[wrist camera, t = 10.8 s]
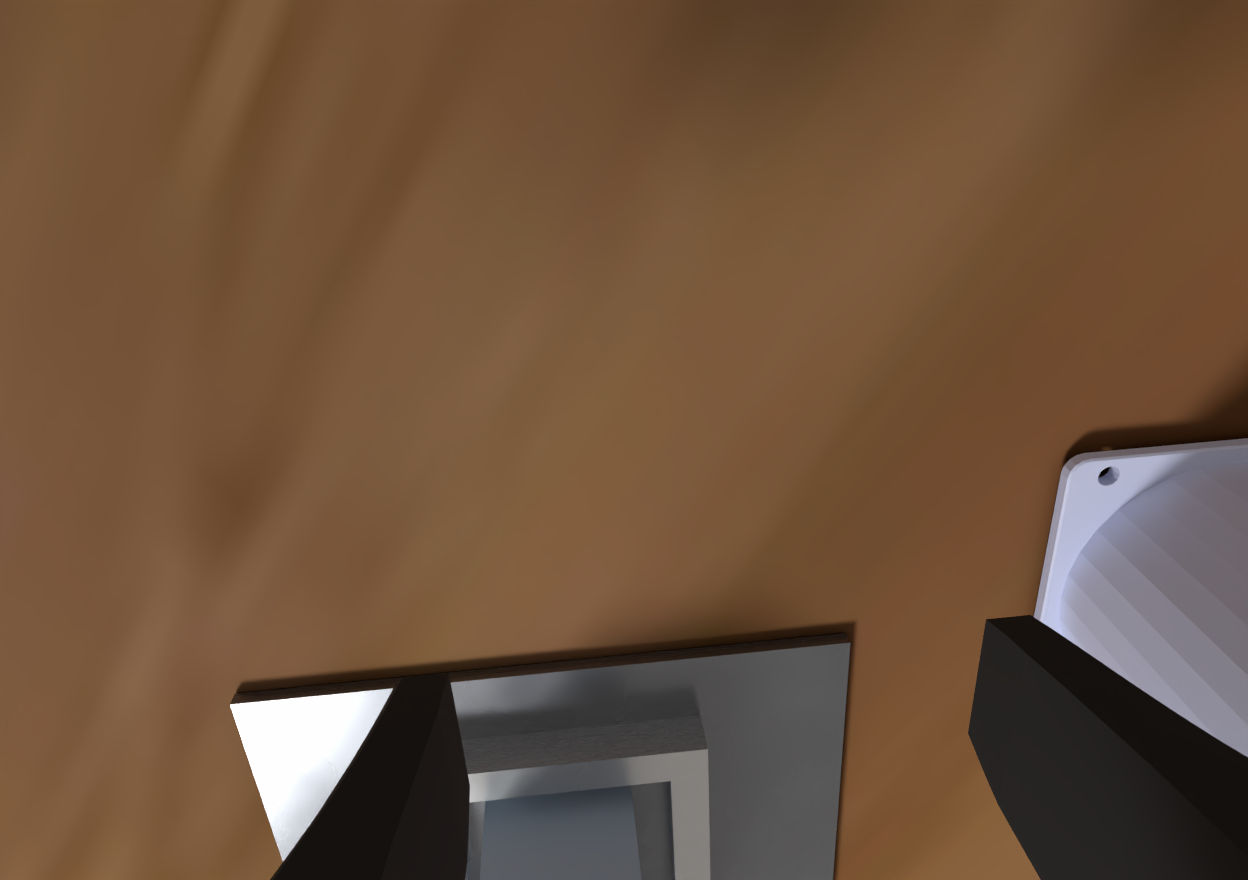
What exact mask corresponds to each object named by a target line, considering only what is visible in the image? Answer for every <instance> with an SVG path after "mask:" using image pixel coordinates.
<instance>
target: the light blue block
mask: <svg viewBox="0 0 1248 880" xmlns="http://www.w3.org/2000/svg"><path fill="white" fill-rule="evenodd" d="M480 880H642V879H641V870H640V861H639V852H638V843H637V835H636V826H635V817H634V808H633V799H632V791H631V785H629V786H620V787H611V788H601V789H592V790H582V791H573V792H564V793H554V794H545V795H536V796H526V797H517V798H507V799H498V800H489V801H485V811H484V825H483V839H482V854H481V868H480Z"/></svg>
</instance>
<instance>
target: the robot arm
mask: <svg viewBox="0 0 1248 880" xmlns="http://www.w3.org/2000/svg"><path fill="white" fill-rule="evenodd" d="M1107 467H1110V469H1109V471H1108V473H1106V474H1105V475H1104V476H1102V477H1099V478H1098V476H1099V474H1100V472H1101V471H1103V470H1104V469H1105V468H1107ZM968 734H969V736H970V739H971V741H972V744H973V746H974V749H975V751H976V754H977V756H978V759H979V761H980V763H981V766H982V768H983V771H984V773H985V776H986V778H987V780H988V782H989V785H990V787H991V789H992V792H993V794H994V796H995V798H996V801H997V803H998V805H999V807H1000V809H1001V810H1002V812H1003V814H1004V816H1005V818H1006V819H1007V821H1008V823H1009V825H1010V826H1011V828H1012V830H1013V832H1014V834H1015V835H1016V837H1017V839H1018V841H1019V842H1020V844H1021V846H1022V848H1023V849H1024V851H1025V853H1026V855H1027V856H1028V858H1029V860H1030V862H1031V863H1032V865H1033V867H1034V868H1035V870H1036V872H1037V874H1038V875H1039V877H1040V879H1041V880H1248V438H1244V439H1233V440H1222V441H1211V442H1200V443H1189V444H1178V445H1167V446H1156V447H1145V448H1134V449H1123V450H1112V451H1101V452H1090V453H1083V454H1079V455H1076V456H1074V457H1073V458H1071V459H1070V460H1069V461H1068V462H1067V463H1066V464H1065V465H1064V467H1063V469H1062V472H1061V476H1060V481H1059V486H1058V492H1057V497H1056V502H1055V507H1054V513H1053V518H1052V523H1051V529H1050V534H1049V539H1048V545H1047V550H1046V555H1045V560H1044V566H1043V571H1042V576H1041V582H1040V587H1039V592H1038V598H1037V603H1036V608H1035V613H1034V617H1033V616H1031V615H1026V616H1016V617H1006V618H996V619H986V624H985V630H984V636H983V643H982V649H981V655H980V662H979V668H978V674H977V681H976V687H975V693H974V699H973V706H972V712H971V718H970V725H969V731H968ZM469 803H470V783H469V778H468V772H467V767H466V762H465V756H464V751H463V745H462V740H461V735H460V729H459V724H458V719H457V713H456V708H455V703H454V697H453V692H452V687H451V681H450V676H449V673H443V674H433V675H423V676H413V677H403V678H401V679H400V680H399V682H398V683H397V684H396V685H395V686H394V688H393V690H392V692H391V694H390V695H389V697H388V699H387V701H386V703H385V705H384V706H383V708H382V710H381V712H380V714H379V715H378V717H377V719H376V721H375V722H374V724H373V726H372V728H371V729H370V731H369V733H368V735H367V736H366V738H365V740H364V741H363V743H362V745H361V746H360V748H359V750H358V751H357V753H356V755H355V756H354V758H353V760H352V761H351V763H350V764H349V766H348V767H347V769H346V771H345V772H344V774H343V775H342V777H341V778H340V780H339V781H338V783H337V785H336V786H335V788H334V789H333V791H332V792H331V794H330V795H329V797H328V798H327V800H326V802H325V803H324V805H323V806H322V808H321V809H320V811H319V812H318V814H317V815H316V817H315V818H314V820H313V821H312V823H311V824H310V825H309V827H308V828H307V829H306V831H305V832H304V834H303V835H302V836H301V838H300V839H299V841H298V842H297V843H296V845H295V846H294V848H293V849H292V850H291V852H290V853H289V854H288V856H287V857H286V859H285V860H284V861H283V863H282V864H281V866H280V867H279V868H278V870H277V871H276V873H275V874H274V875H273V877H272V878H271V879H270V880H465V876H466V868H467V858H468V834H469Z"/></svg>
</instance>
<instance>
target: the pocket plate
mask: <svg viewBox="0 0 1248 880" xmlns="http://www.w3.org/2000/svg"><path fill="white" fill-rule="evenodd" d="M849 656H850V641H849V639H848V636H847V634H846V633H840V634H830V635H820V636H810V637H800V638H790V639H780V640H770V641H760V642H750V643H740V644H730V645H720V646H709V647H699V648H689V649H679V650H669V651H659V652H649V653H639V654H629V655H619V656H609V657H599V658H589V659H579V660H569V661H559V662H549V663H539V664H529V665H518V666H508V667H498V668H488V669H478V670H468V671H458V672H448V673H449V676H450V681H451V687H452V692H453V697H454V703H455V708H456V713H457V719H458V724H459V729H460V735H461V740H462V745H463V751H464V756H465V762H466V767H467V772H468V778H469V783H470V803H469V834H468V858H467V868H466V876H465V880H480V868H481V854H482V839H483V825H484V811H485V801H489V800H498V799H507V798H517V797H526V796H536V795H545V794H554V793H564V792H573V791H582V790H592V789H601V788H611V787H620V786H629V785H631V791H632V799H633V808H634V817H635V826H636V835H637V843H638V852H639V861H640V870H641V879H642V880H833V871H834V858H835V844H836V831H837V817H838V804H839V790H840V777H841V763H842V750H843V736H844V723H845V709H846V696H847V683H848V669H849ZM438 674H443V673H438ZM428 675H433V674H428ZM418 676H423V675H418ZM408 677H413V676H408ZM401 678H403V677H398V678H388V679H378V680H368V681H358V682H348V683H338V684H327V685H317V686H307V687H297V688H287V689H277V690H267V691H257V692H247V693H237V694H235V695H234V697H233V699H232V702H231V704H230V706H231V709H232V712H233V715H234V718H235V721H236V724H237V727H238V730H239V733H240V736H241V739H242V742H243V745H244V747H245V750H246V753H247V756H248V759H249V762H250V765H251V768H252V771H253V774H254V777H255V780H256V783H257V786H258V789H259V792H260V795H261V798H262V801H263V804H264V807H265V810H266V813H267V816H268V819H269V822H270V825H271V828H272V831H273V833H274V836H275V839H276V842H277V845H278V848H279V851H280V854H281V857H282V860H283V861H284V860H285V859H286V857H287V856H288V854H289V853H290V852H291V850H292V849H293V848H294V846H295V845H296V843H297V842H298V841H299V839H300V838H301V836H302V835H303V834H304V832H305V831H306V829H307V828H308V827H309V825H310V824H311V823H312V821H313V820H314V818H315V817H316V815H317V814H318V812H319V811H320V809H321V808H322V806H323V805H324V803H325V802H326V800H327V798H328V797H329V795H330V794H331V792H332V791H333V789H334V788H335V786H336V785H337V783H338V781H339V780H340V778H341V777H342V775H343V774H344V772H345V771H346V769H347V767H348V766H349V764H350V763H351V761H352V760H353V758H354V756H355V755H356V753H357V751H358V750H359V748H360V746H361V745H362V743H363V741H364V740H365V738H366V736H367V735H368V733H369V731H370V729H371V728H372V726H373V724H374V722H375V721H376V719H377V717H378V715H379V714H380V712H381V710H382V708H383V706H384V705H385V703H386V701H387V699H388V697H389V695H390V694H391V692H392V690H393V688H394V686H395V685H396V684H397V683H398V682H399V680H400V679H401Z"/></svg>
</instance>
